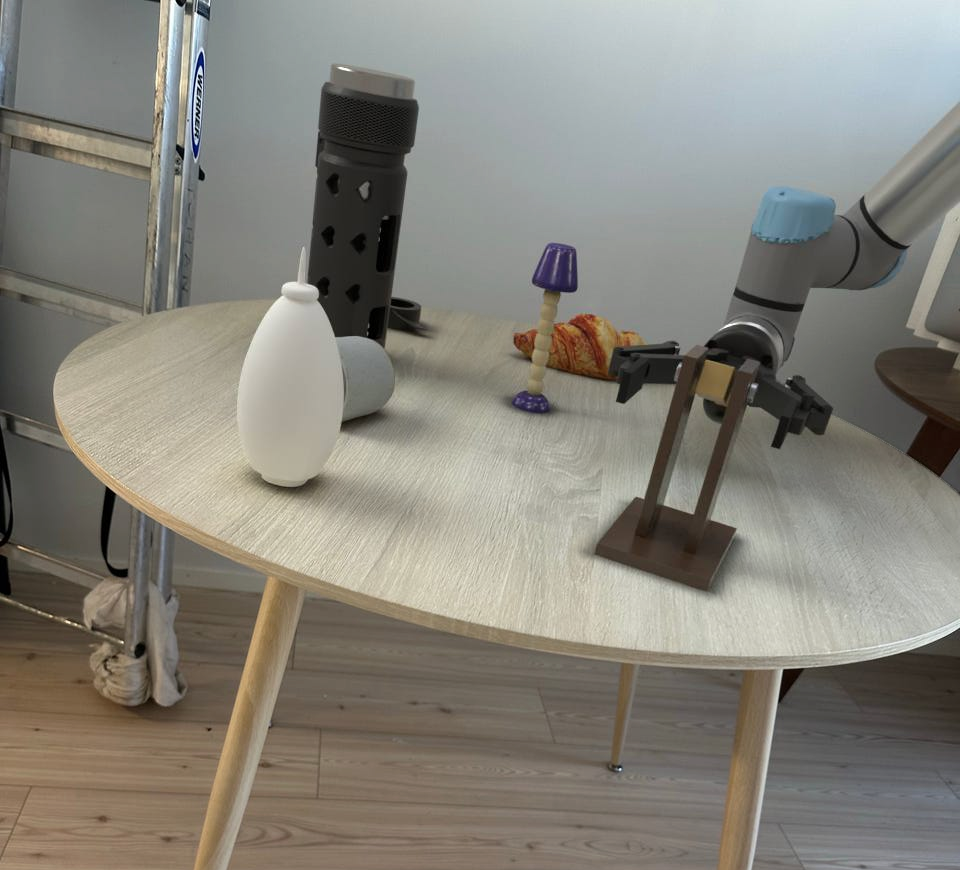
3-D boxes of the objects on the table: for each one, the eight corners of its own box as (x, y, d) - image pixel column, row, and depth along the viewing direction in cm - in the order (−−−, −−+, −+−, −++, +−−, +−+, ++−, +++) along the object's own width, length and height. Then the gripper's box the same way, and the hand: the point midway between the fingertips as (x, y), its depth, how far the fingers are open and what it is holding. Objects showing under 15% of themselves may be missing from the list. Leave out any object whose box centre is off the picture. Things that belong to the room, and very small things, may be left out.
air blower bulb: (315, 513, 77) (340, 268, 68) (217, 489, 78) (229, 242, 68) (346, 478, 84) (372, 250, 75) (255, 456, 84) (270, 228, 75)
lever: (698, 419, 89) (712, 378, 88) (739, 431, 88) (753, 390, 87) (682, 397, 75) (699, 348, 74) (730, 410, 74) (747, 361, 74)
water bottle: (274, 349, 110) (349, 378, 107) (296, 56, 96) (383, 77, 93) (329, 338, 118) (402, 365, 114) (357, 65, 104) (441, 84, 100)
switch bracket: (631, 511, 89) (681, 329, 81) (732, 542, 87) (793, 359, 79) (592, 559, 79) (645, 357, 71) (705, 596, 77) (772, 392, 69)
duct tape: (424, 321, 133) (428, 298, 131) (426, 342, 124) (430, 318, 123) (365, 311, 131) (368, 288, 130) (363, 332, 123) (366, 307, 121)
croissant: (660, 402, 132) (668, 340, 131) (691, 388, 122) (700, 321, 122) (501, 376, 128) (509, 311, 127) (520, 359, 118) (528, 290, 117)
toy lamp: (498, 402, 108) (529, 238, 100) (529, 399, 111) (561, 239, 103) (529, 418, 106) (564, 251, 97) (560, 414, 109) (596, 252, 100)
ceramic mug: (396, 421, 98) (406, 340, 94) (343, 438, 91) (351, 352, 88) (310, 389, 102) (316, 311, 98) (253, 403, 95) (258, 320, 92)
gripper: (850, 431, 102) (833, 495, 84) (614, 365, 108) (552, 411, 90) (878, 357, 98) (866, 407, 81) (632, 293, 104) (571, 326, 86)
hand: (700, 409), depth 85 cm, fingers open, 13 cm apart
